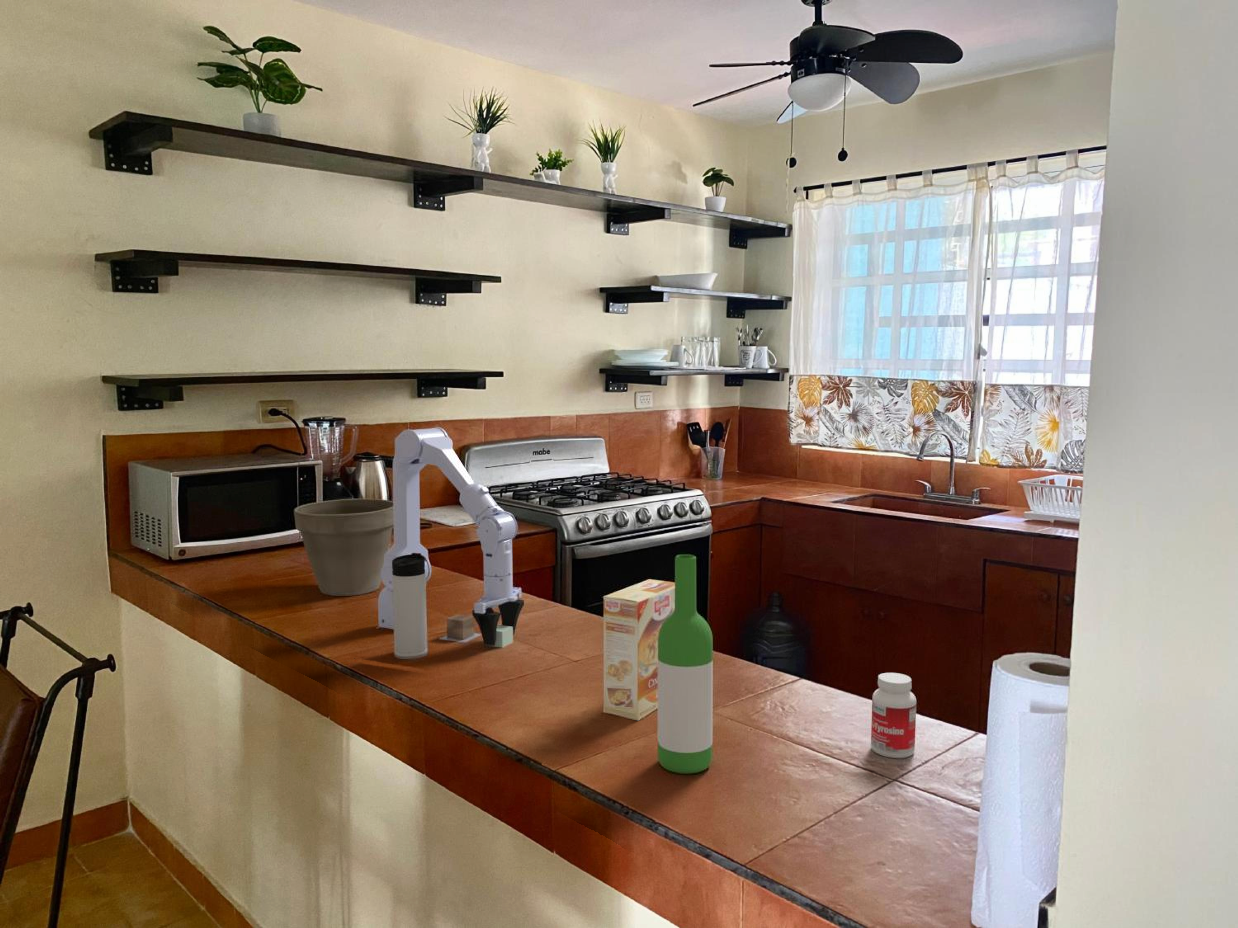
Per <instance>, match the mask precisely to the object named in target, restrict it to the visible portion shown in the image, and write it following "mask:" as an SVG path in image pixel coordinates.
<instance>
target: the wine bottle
mask: <svg viewBox="0 0 1238 928" xmlns="http://www.w3.org/2000/svg"><path fill="white" fill-rule="evenodd" d="M674 583H675V609H674V612H673V614H672V615H670V616H669V617H668V618H667V619H666V620H665V621H664V623H663V624H662V626H661V628H660V631H659V636H658V708H657V759H658V762H659V763H660V766H662V768H663V769H666V770H667V771H669V772H672V773H675V774H683V775H684V774H685V775H686V774H687V775H688V774H696V773H700V772H703V771H704V770H706V769H707V768H709V766H710V765H711V764H712V761H713V744H714V743H713V738H714V736H713V735H714V734H713V728H714V726H713V724H714V723H713V722H714V721H713V717H714V716H713V714H714V712H713V711H714V710H713V709H714V707H713V703H714V702H713V699H714V698H713V697H714V695H713V694H714V693H713V692H714V689H713V687H714V684H713V683H714V680H713V679H714V678H713V675H714V674H713V673H714V672H713V671H714V668H713V667H714V663H713V662H714V657H713V654H714V652H713V651H714V647H713V646H714V643H713V641H714V640H713V633H712V630H711V627H710V625H709V623H708V622H707V620H705V618H704V617H703V616H701V615H700V613H698V611H697V557H696V556H695V555H694V554H689V553H688V554H687V553H684V554H677V555H676V556H675V557H674Z"/></svg>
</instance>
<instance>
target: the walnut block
mask: <svg viewBox="0 0 1238 928" xmlns="http://www.w3.org/2000/svg"><path fill="white" fill-rule="evenodd" d="M474 633H475V618H474V617H473V615H468V614H467V615H466V614H459V613H457V614H455V615H452V616H450V617H448V618H446V635H447V638H452V639H459V640H465V639H467V638H469V637H471V636H473V635H474Z"/></svg>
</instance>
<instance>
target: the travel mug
mask: <svg viewBox="0 0 1238 928" xmlns="http://www.w3.org/2000/svg"><path fill="white" fill-rule="evenodd" d="M424 568H425V557H424V556H422V555H421V553H412V554H411V555H403V556H399V557H396V558H395V559H393V560H392V569H393V571H392V577H393V578H392V588H393V621H394V629H393V647H394V648H393V649H394V652H393V653H394V657H395V658H396V659H400V660H414V659H420V658H422V657H423V658H424V657H425V656H427V654H428V626H427V625H428V624H427V590H426V589H427V581H426V579H425V569H424Z"/></svg>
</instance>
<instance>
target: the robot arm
mask: <svg viewBox="0 0 1238 928" xmlns="http://www.w3.org/2000/svg"><path fill="white" fill-rule="evenodd" d="M453 444H454V443H453V440H452V438H451V437H449V435H448V433H447V432H446V430H445V429H444V428H442V427H439V426H436V427H435V426H434V427H431V428H419V429H409V428H408V429H404V430H403V431H402V432H401V433H399V434H398V435H397V436H396V437H395V438H394V457H393V459H392V497H393V498H392V501H393V523H394V525H393V544H391V545H392V546H390V548H388V551H387V552H386V553H385V555H384V563H383V566H382V569H381V579H382V580H381V583H383V586H384V588H382V589H381V591H380V592H379V594H378V599H377V612H378V613H377V614H378V616H377V617H378V626H377V627H376V629H378V628H385V629H391V630H394V621H393V588H392V578H393V577H392V571H393V569H392V560H393V559H395V558H396V557H399V556H403V555H411V554H412V553H421V555H422V556H424V557H425V568H424V569H425V579H426V582H428V581H429V579H430V578H431V575H432V565H431V563H430V560H429V550H428V549H427V548H426V547H425V546H423V545H422V543H421V527H420V526H421V520H420V519H421V515H420V514H421V513H420V511H421V510H420V509H421V505H420V502H421V501H420V500H421V499H420V472H421V470H422V469H424V467H425V466H427V465H431V466H436V467H438V469H440V471H441V473H443V474H444V476H445V477H446V478H447V479H448V481H450V482H451V484H452V485H453V487H455V489H456V490H457V491H458V492H459V493H460V494H459V502H460V503H459V504H460V505H462V507H463V508H464V510H465V512H467V514H468V515H469V517H470V518H471V520H472V521H473V522H474V524H476V526H477V529H476V530H475V531H476V537H477V539H478V540H479V543H480V545H481V550H482V555H483V591H484V592H483V595H482V597H480V599H479V600H477V601H476V602H474V603H473V607H474V609H472V610H471V611H472V612H471V616H473V617H474V621H475V622H476V623H477V625H478V628H479V630H480V634H482V635H481V636H482V640H483V644H484V646H487V645H489V647H494V645H495V642H496V630H497V625H499V619H500V618H501V619H500V620H501V625H503V626H511V627H513V637H514V635H515V633H516V632H515V631H516V627H517V623H518V619H519V616H520V613H521V611H522V609H523V607H524V605H525V600H523V599H520V598H522V588H521V587H515V586H514V585H513V584H514V582H513V580H514V579H513V576H514V575H513V539H515V538H516V536H517V535H518V530H519V529H518V528H519V527H518V522H517V520H516V518H515V516H514V514H513V513H511V512H508V511H505V510H504V509H503V508H501V506H499V505H498V503H497V502H496V501H495V500H494V498H493V497H492V496H491V494H490V493H489V492H490V490H489V488H487V486H484V485H483V484H480V483H475V482H474V481H473V479H472V477H471V475H470V474H469V472H468V471H467V469H466V468H465V466H464V465H463V463H462V462H461V460H460V459H459V457H458V455H457V454H456V452H455V450H454V448H453ZM495 607H498V610H499V612H498V611H495V610H494V608H495Z"/></svg>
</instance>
